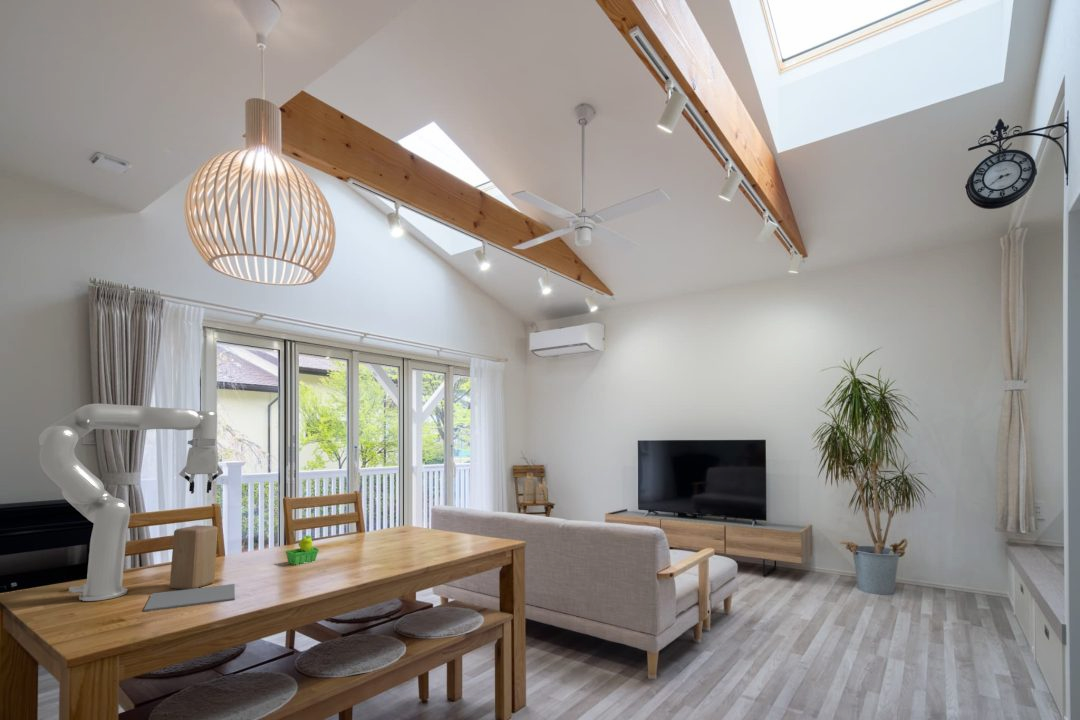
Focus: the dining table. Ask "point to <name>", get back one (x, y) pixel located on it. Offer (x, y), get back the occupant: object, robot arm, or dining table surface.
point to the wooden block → (193, 557)
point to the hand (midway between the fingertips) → (200, 492)
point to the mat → (190, 597)
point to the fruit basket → (303, 552)
